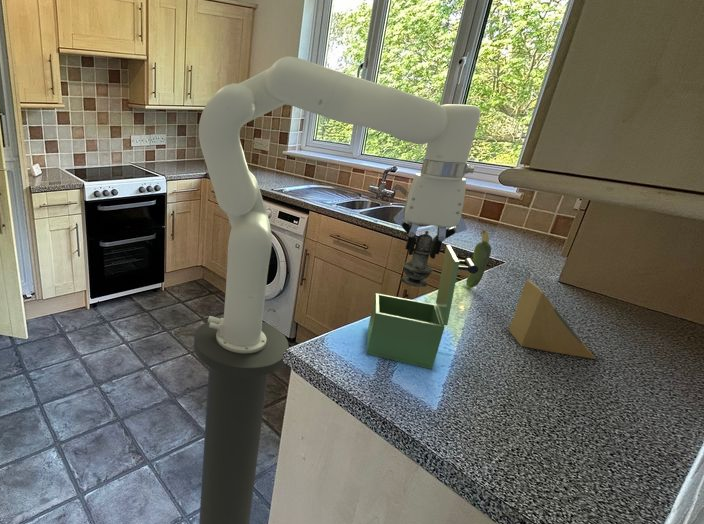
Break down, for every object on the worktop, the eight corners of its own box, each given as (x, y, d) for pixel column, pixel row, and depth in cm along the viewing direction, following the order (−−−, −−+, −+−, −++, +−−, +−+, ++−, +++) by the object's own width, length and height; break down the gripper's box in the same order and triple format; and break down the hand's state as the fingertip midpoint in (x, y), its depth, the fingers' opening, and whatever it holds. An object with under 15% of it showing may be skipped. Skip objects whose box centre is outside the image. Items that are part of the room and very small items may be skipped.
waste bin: (366, 353, 95) (375, 313, 91) (367, 330, 105) (375, 293, 101) (432, 369, 90) (444, 327, 86) (426, 343, 100) (437, 304, 96)
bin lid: (455, 261, 82) (484, 264, 80) (446, 244, 92) (472, 246, 90) (442, 324, 86) (470, 328, 85) (435, 302, 96) (460, 305, 95)
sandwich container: (597, 360, 96) (623, 303, 91) (521, 346, 101) (542, 292, 95) (578, 341, 104) (600, 288, 99) (508, 329, 108) (526, 278, 103)
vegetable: (480, 289, 133) (498, 231, 125) (477, 293, 130) (496, 233, 123) (464, 285, 135) (481, 227, 128) (461, 289, 132) (479, 230, 125)
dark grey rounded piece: (432, 288, 87) (447, 235, 83) (403, 285, 88) (417, 233, 84) (423, 278, 93) (436, 228, 89) (396, 275, 94) (408, 225, 89)
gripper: (486, 171, 82) (461, 256, 89) (396, 163, 88) (379, 243, 94) (496, 176, 76) (468, 267, 82) (398, 168, 82) (379, 253, 88)
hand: (420, 254), depth 88 cm, fingers closed on dark grey rounded piece, 3 cm apart
